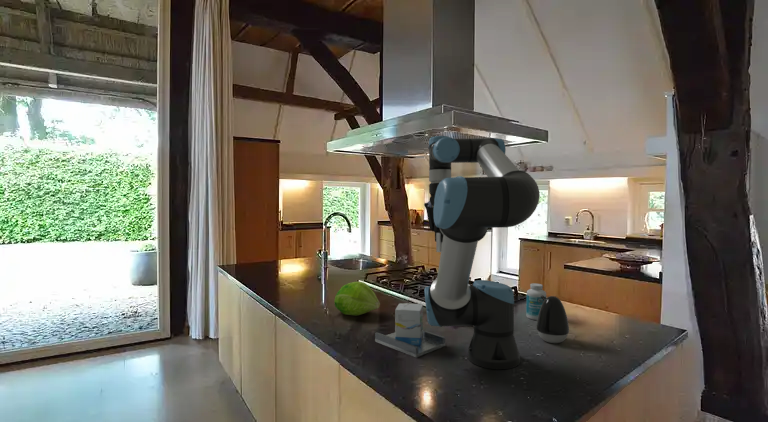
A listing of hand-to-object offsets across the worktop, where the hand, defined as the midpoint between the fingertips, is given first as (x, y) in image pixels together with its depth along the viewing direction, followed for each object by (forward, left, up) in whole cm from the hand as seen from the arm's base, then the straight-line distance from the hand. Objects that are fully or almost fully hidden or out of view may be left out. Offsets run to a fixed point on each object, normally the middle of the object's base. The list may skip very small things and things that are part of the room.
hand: (440, 251), depth 140 cm
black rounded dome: (-27, -26, -31) cm, 48 cm away
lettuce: (+43, +3, -31) cm, 53 cm away
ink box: (+5, +11, -30) cm, 32 cm away
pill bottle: (-11, -46, -31) cm, 56 cm away
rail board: (+5, +11, -30) cm, 33 cm away
